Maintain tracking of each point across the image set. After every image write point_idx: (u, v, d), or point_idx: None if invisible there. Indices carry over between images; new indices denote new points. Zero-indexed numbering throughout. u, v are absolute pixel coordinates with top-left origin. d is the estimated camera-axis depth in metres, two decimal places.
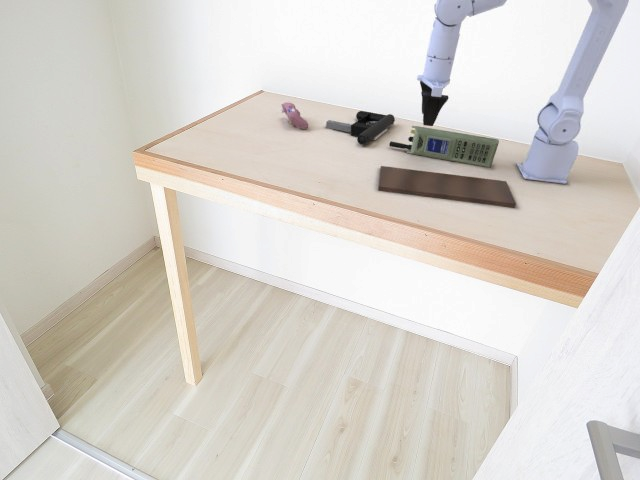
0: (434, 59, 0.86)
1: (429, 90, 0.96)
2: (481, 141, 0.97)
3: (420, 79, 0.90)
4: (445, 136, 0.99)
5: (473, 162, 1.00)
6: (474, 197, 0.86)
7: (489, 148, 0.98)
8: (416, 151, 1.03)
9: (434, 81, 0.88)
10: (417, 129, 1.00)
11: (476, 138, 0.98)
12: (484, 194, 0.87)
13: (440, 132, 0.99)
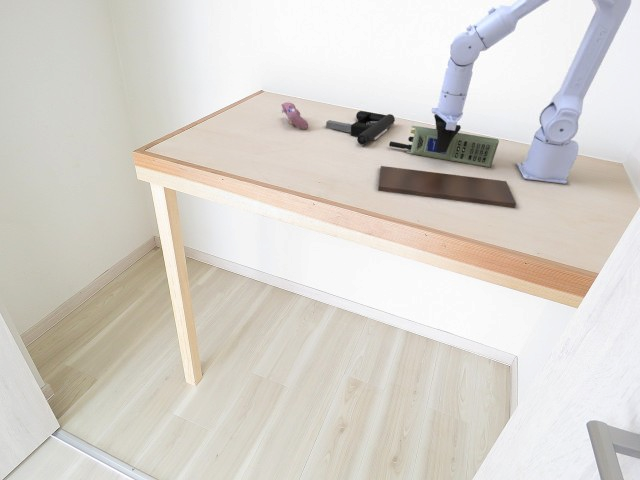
0: (448, 95, 0.92)
1: None
2: (480, 141, 0.97)
3: (435, 112, 0.96)
4: None
5: (473, 162, 1.00)
6: (474, 197, 0.86)
7: (489, 148, 0.98)
8: (416, 151, 1.03)
9: (448, 115, 0.94)
10: (417, 129, 1.00)
11: (476, 138, 0.98)
12: (484, 194, 0.87)
13: None
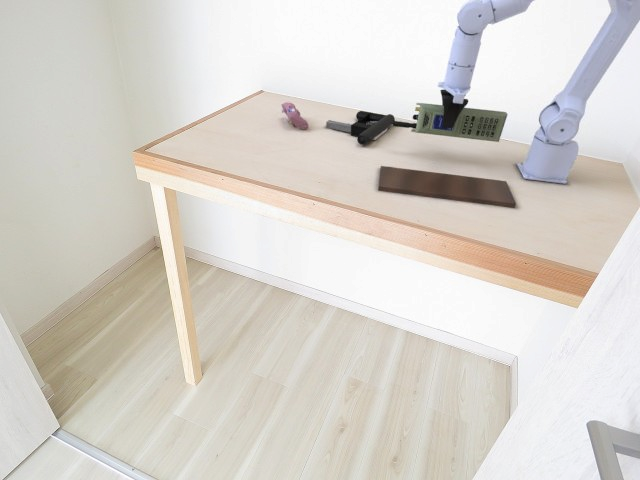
0: (456, 67, 0.88)
1: None
2: (489, 115, 0.94)
3: (441, 86, 0.92)
4: None
5: (481, 137, 0.97)
6: (474, 197, 0.86)
7: (498, 122, 0.95)
8: (422, 129, 0.98)
9: (455, 88, 0.90)
10: (422, 106, 0.96)
11: (484, 112, 0.94)
12: (484, 194, 0.87)
13: None
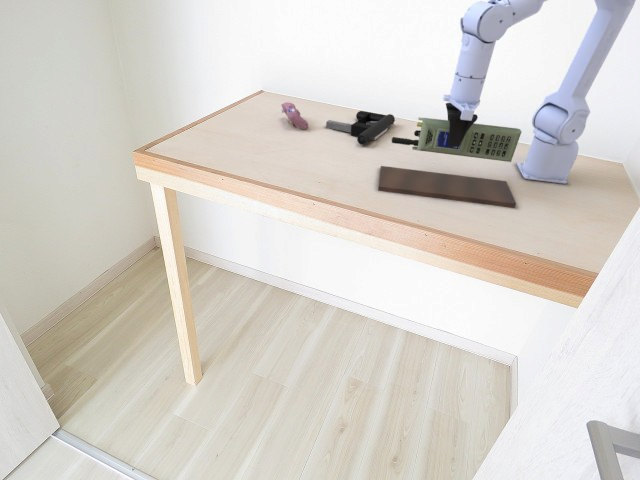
0: (464, 78, 0.77)
1: None
2: (500, 132, 0.83)
3: (447, 99, 0.82)
4: None
5: (491, 157, 0.86)
6: (474, 197, 0.86)
7: (510, 140, 0.84)
8: (424, 147, 0.88)
9: (463, 102, 0.80)
10: (425, 121, 0.85)
11: (495, 129, 0.83)
12: (484, 194, 0.87)
13: None
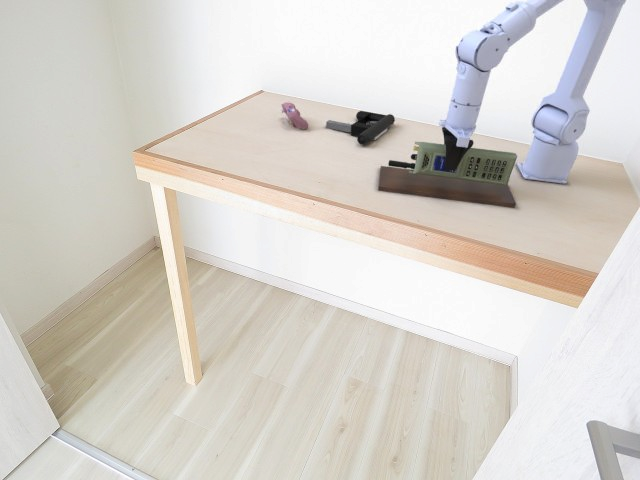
0: (460, 105, 0.78)
1: None
2: (496, 157, 0.84)
3: (443, 125, 0.82)
4: None
5: (487, 180, 0.87)
6: (474, 197, 0.86)
7: (506, 164, 0.84)
8: (421, 170, 0.88)
9: (459, 128, 0.80)
10: (422, 146, 0.85)
11: (491, 153, 0.84)
12: (484, 194, 0.87)
13: None
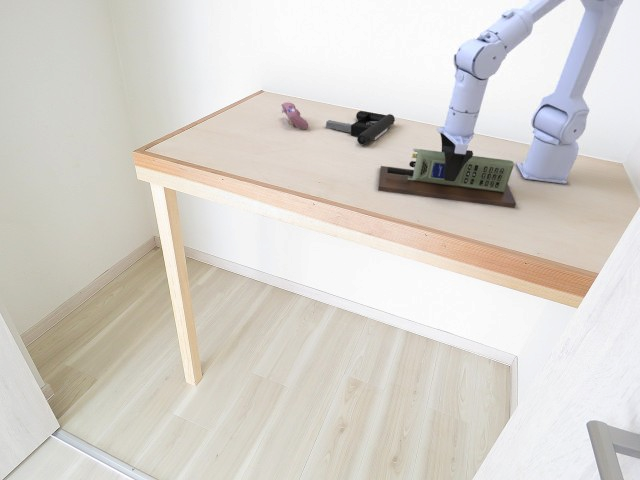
0: (458, 113, 0.79)
1: (450, 140, 0.88)
2: (494, 164, 0.85)
3: (441, 132, 0.83)
4: None
5: (485, 187, 0.88)
6: (474, 197, 0.86)
7: (503, 172, 0.85)
8: (419, 177, 0.89)
9: (457, 135, 0.81)
10: (420, 153, 0.87)
11: (488, 161, 0.85)
12: (484, 194, 0.87)
13: None
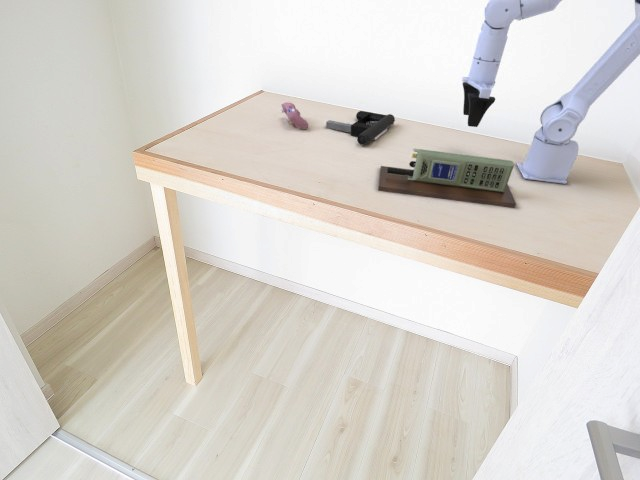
0: (482, 61, 0.88)
1: (472, 91, 0.97)
2: (494, 164, 0.85)
3: (466, 81, 0.92)
4: (453, 160, 0.86)
5: (485, 187, 0.88)
6: (474, 197, 0.86)
7: (503, 172, 0.85)
8: (419, 177, 0.89)
9: (481, 83, 0.90)
10: (420, 153, 0.87)
11: (488, 161, 0.85)
12: (484, 194, 0.87)
13: (447, 155, 0.86)
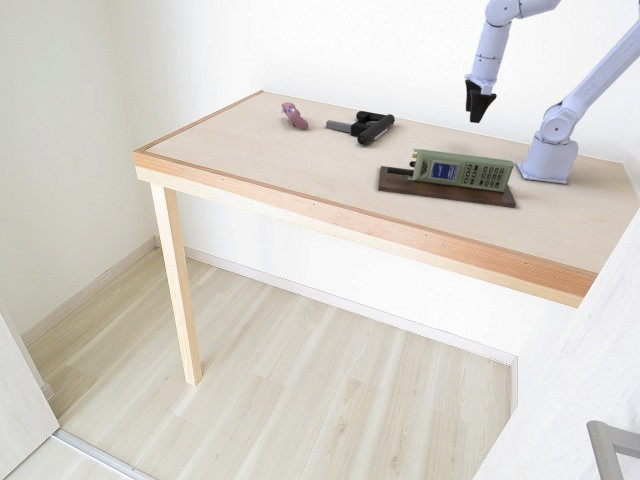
0: (484, 59, 0.90)
1: (474, 89, 0.99)
2: (494, 164, 0.85)
3: (468, 78, 0.94)
4: (453, 160, 0.86)
5: (485, 187, 0.88)
6: (474, 197, 0.86)
7: (503, 172, 0.85)
8: (419, 177, 0.89)
9: (483, 80, 0.92)
10: (420, 153, 0.87)
11: (488, 161, 0.85)
12: (484, 194, 0.87)
13: (447, 155, 0.86)
